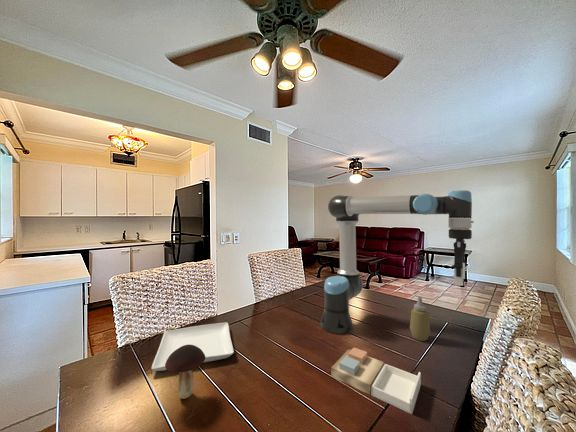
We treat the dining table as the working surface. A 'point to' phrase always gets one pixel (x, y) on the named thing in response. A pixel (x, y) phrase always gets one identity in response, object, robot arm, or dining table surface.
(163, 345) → the square plate
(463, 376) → the dining table surface
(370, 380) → the beige flat block
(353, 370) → the tile slate
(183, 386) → the decorative mushroom
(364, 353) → the tile terracotta
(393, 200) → the robot arm
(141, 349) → the dining table surface
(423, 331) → the squeeze bottle
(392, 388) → the tray
